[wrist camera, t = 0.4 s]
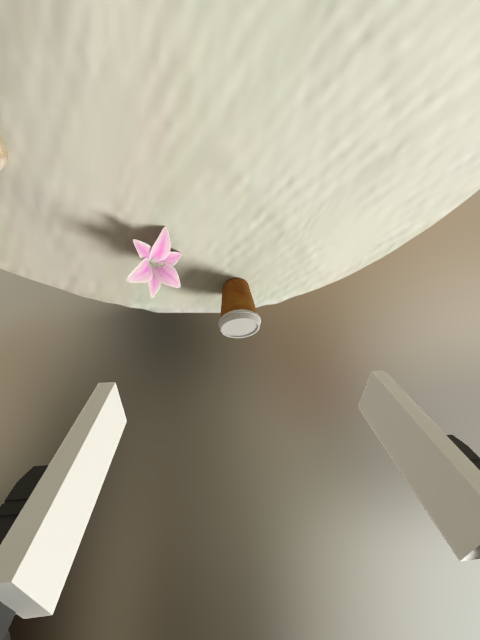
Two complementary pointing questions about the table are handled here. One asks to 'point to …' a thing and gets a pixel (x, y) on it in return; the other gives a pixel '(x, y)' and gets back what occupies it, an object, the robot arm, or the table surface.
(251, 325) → the disposable coffee cup
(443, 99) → the table surface
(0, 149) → the stacking toy
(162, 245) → the lily
